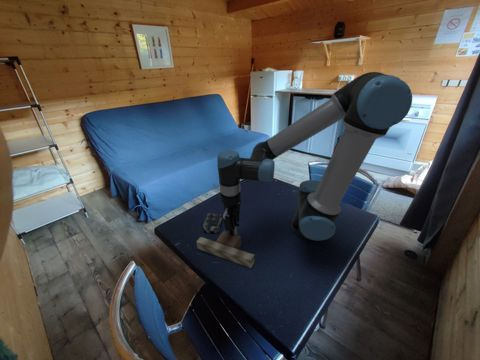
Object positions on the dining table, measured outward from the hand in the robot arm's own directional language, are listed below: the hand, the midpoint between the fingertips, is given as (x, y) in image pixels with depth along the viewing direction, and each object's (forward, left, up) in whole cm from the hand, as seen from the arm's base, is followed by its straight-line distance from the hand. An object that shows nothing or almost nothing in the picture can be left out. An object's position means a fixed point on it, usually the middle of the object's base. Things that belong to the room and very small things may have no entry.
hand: (233, 238), depth 95 cm
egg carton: (+13, -5, -2) cm, 15 cm away
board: (0, +8, -2) cm, 8 cm away
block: (0, +4, -2) cm, 4 cm away
